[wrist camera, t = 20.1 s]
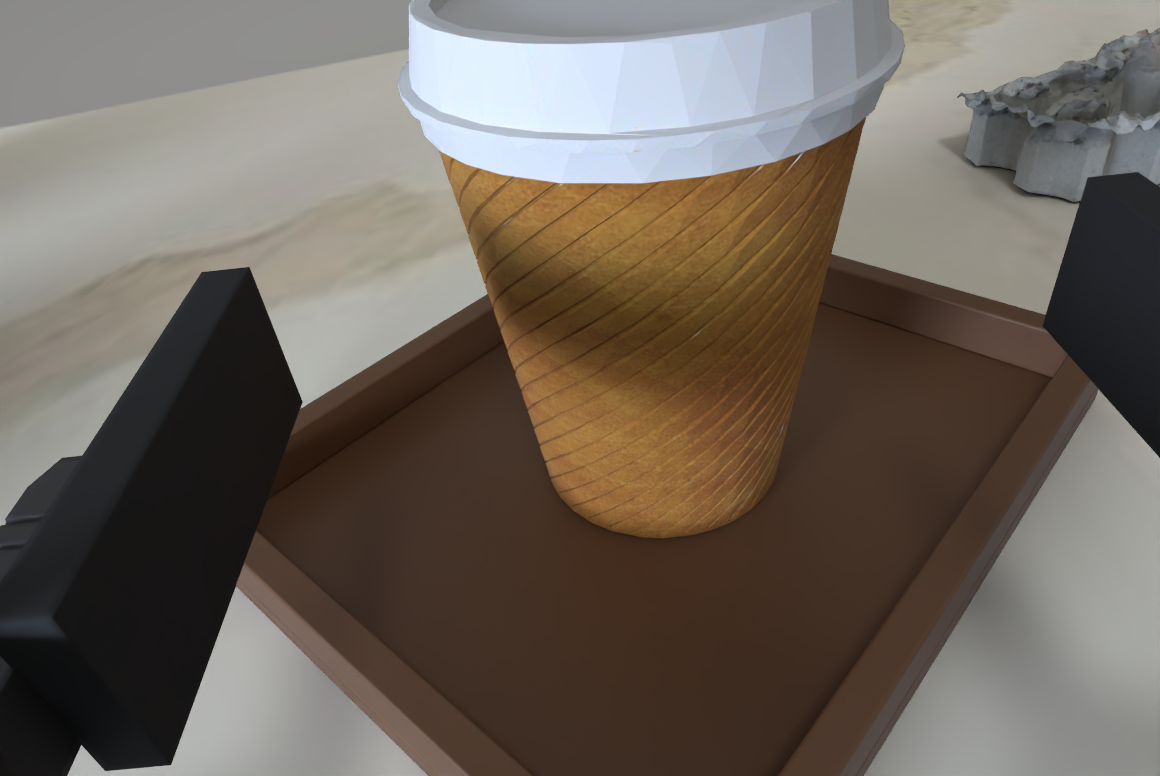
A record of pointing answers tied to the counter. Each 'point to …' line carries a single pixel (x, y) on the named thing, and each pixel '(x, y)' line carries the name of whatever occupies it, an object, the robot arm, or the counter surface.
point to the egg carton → (1074, 120)
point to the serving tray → (662, 549)
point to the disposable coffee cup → (652, 223)
